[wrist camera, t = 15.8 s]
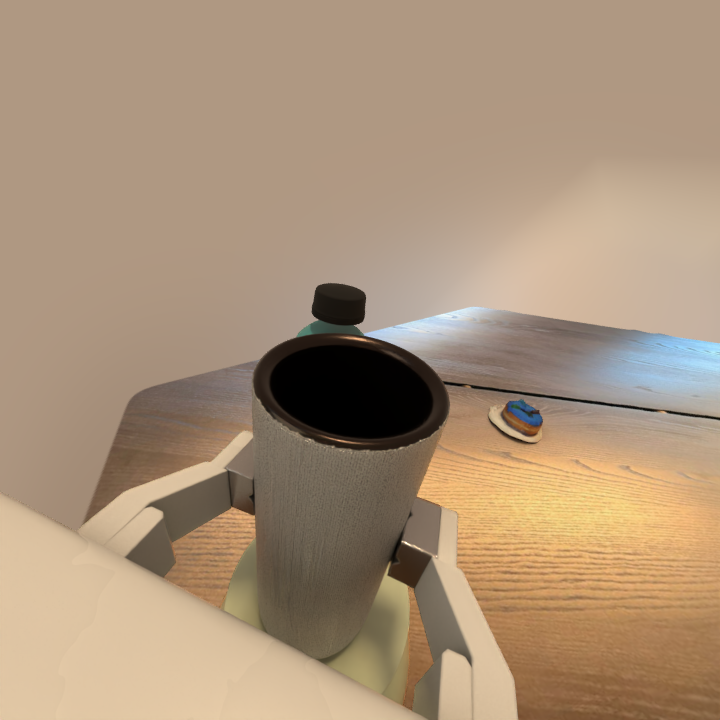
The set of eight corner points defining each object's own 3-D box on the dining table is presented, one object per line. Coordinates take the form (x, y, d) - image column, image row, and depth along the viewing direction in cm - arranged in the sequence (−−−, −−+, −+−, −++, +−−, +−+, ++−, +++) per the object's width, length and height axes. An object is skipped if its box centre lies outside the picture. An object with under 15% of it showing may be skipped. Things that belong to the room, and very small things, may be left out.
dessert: (557, 445, 40) (547, 412, 38) (507, 459, 42) (496, 428, 40) (530, 411, 47) (521, 381, 45) (489, 424, 49) (478, 396, 47)
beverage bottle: (300, 437, 35) (313, 269, 25) (353, 452, 35) (389, 286, 25) (275, 482, 30) (279, 289, 20) (338, 501, 29) (376, 312, 19)
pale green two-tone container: (390, 825, 15) (475, 802, 9) (180, 827, 14) (110, 802, 8) (377, 588, 23) (416, 493, 17) (248, 580, 22) (240, 477, 16)
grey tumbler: (273, 525, 14) (277, 322, 9) (369, 532, 14) (427, 342, 9) (241, 659, 10) (214, 433, 5) (375, 663, 10) (483, 460, 5)
